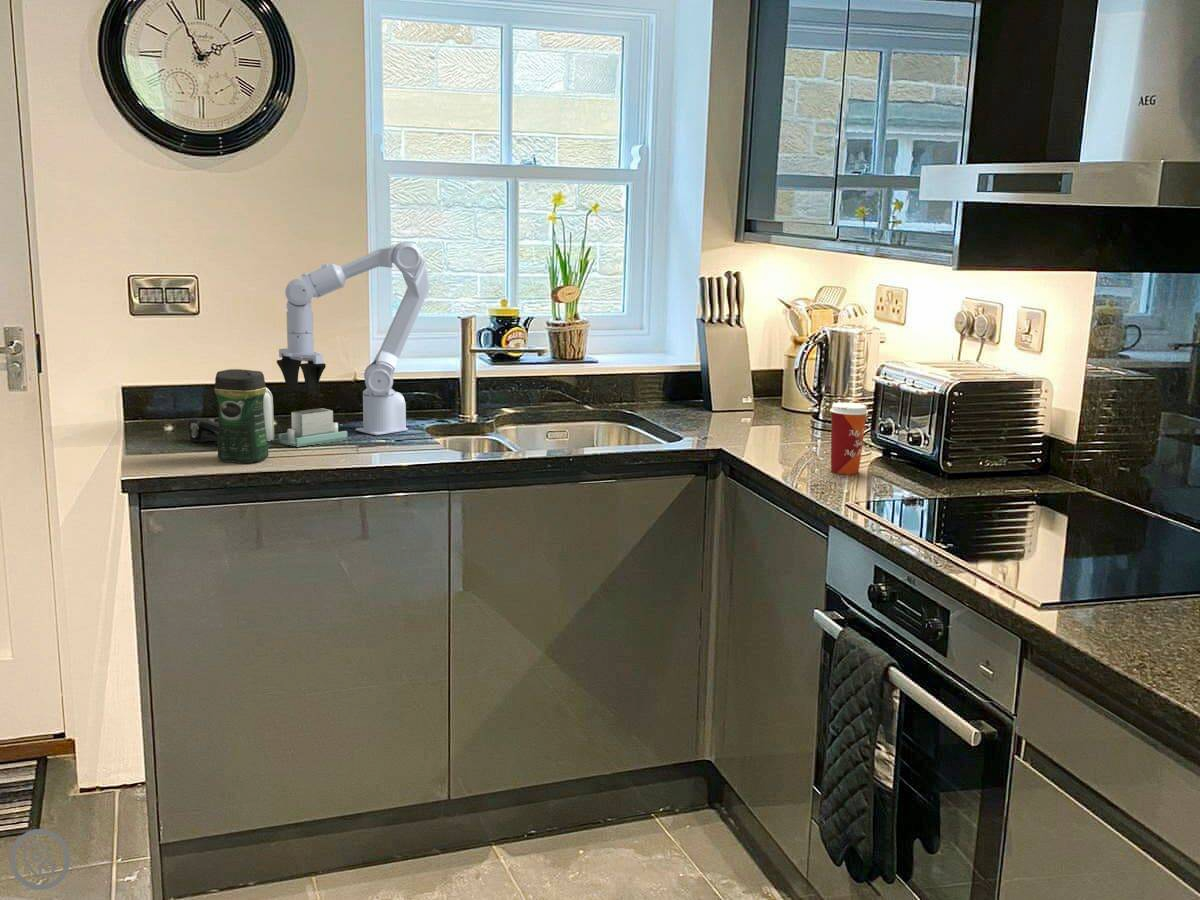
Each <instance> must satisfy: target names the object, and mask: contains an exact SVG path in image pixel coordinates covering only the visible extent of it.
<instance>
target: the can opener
mask: <svg viewBox="0 0 1200 900" xmlns="http://www.w3.org/2000/svg"><path fill="white" fill-rule="evenodd" d="M188 431H189V434H190V435H189V438H190V440H191V441H192V442H195V443H197V444H198V443H199V444H205V443H210V442H209V441H215V442H214V443H218V431H219V421H218V422H217V421H215V419H213V418H209V419H206V418H202V417H201V418H200V417H193V418H190V420H189V421H188ZM204 442H205V443H204Z"/></svg>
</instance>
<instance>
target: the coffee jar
mask: <svg viewBox="0 0 1200 900" xmlns="http://www.w3.org/2000/svg"><path fill="white" fill-rule="evenodd" d="M265 381H266V380H265V375H264V373H263V372H262V371H261V370H250V369H239V368H238V369H237V368H233V369H232V368H231V369H223V370H220V371H217V373H216V374H215V381H214V393H215V396H216V399H217V404H218V423H219V431H218V442H217V457H218V459H219V460H220V461H221V462H222V461H223V462H227V461H229V462H228V463H236V462H240V464H244V463H245V464H247V463H253V462H258V461H260V462H263V461H264V460H266V459H267V458H268V457H269V444H268V442H267V436H266V429H265V420H264V410H263V399H264V395H265V392H266V388H267V387H266V386H267V385H266V382H265ZM262 460H263V461H262Z"/></svg>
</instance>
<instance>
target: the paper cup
mask: <svg viewBox="0 0 1200 900" xmlns="http://www.w3.org/2000/svg"><path fill="white" fill-rule="evenodd" d="M829 412H830V413H831V415H830V417H831V418H830V419H831V420H830V421H831V423H830V442H831V443H830V471H831V472H832V473H833V474H837V475H846V476H849V475H857V474H858V473H859V470H860V466H861V465H860V464H861V458H862V457H861V456H862V450H863V443H864V433H865V427H866V420H867V414H869V412H868V410H867V406H866V405H865V404H863V403H862V404H861V403H855V402H835V403H832V405H831V408H830V409H829Z"/></svg>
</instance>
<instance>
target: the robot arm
mask: <svg viewBox="0 0 1200 900" xmlns="http://www.w3.org/2000/svg"><path fill="white" fill-rule="evenodd" d="M393 264H394V265H395V267H396V268H397V270H399V271H400V273H402V276H403V277H402V278H403V279H404V282H405V284H406V290H405V293H404V295H403V297H402V299H401V302H400V304H399V305H398V308H397V311H396V312H395V315H394V317H393V319H392V321H391V323H390V327H389V328H388V330H387V333H386V335H385V337H384V339H383V342H382V344H381V347H380V349H379V351H378V352H377V354H376V356H375V358H374V360H373V361H372V362H371V363H370V364H369V365H367V366H366V368H365V370H364V373H363V378H364V384H365V387H366V388H365V389H364V390H363V391H362V406H363V407H362V415H363V417H362V418H363V419H362V423H363V424H362V425H363V427H356V428H355V431H357V432H361V433H365V434H369V435H373V436H380V435H381V436H382V435H387V434H392V433H393V434H394V433H399V432H400V433H401V432H406V431H408V430H409V428H408V427H407V414H406V413H407V407H406V401H405V397H404V395H403V394H402V393H401V392H398V391H395V390H394V389H393V385H394V372H395V370H396V368H397V365H398V361H399V358H400V356H401V354H402V351H403V349H404V347H405V345H406V343H407V341H408V338H409V336H410V334H411V331H412V329H413V327H414V325H415V323H416V321H417V318H418V316H419V313H420V311H421V309H422V306H423V304H424V302H425V301H426V298H427V295H428V293H429V291H430V281H429V276H428V270H427V262H426V259H425V257H424V255H423V254H422V252H421V250H420V248H419V247H418V246H417V245H415V244H413V243H412V242H408V241H400V242H399V243H397V244H396V245H395V244H394V245H393V244H392V245H388V246H384V247H381V248H378V249H375V250H373V251H371V252H369V253H366V254H365V255H363V256H360V257H358V258H356V259H353V260H352V261H351V260H350V261H349V262H347V263H345V264H343V265H341V266H340V265H338V264H335V263H329V264H328V263H327V262H326V263H323V264H321V268H318V269H315V270H313V271H311V272H309V273H306V272H303V273H301V277H302V278H299V277H297V278H293V279H291V280H290V281H289V282H288V284H287V286H286V288H285V297H286V299H287V302H286V309H287V311H286V338H287V339H286V340H287V348H286V347H285V348H279V349H278V358H281V359H276V364H277V365H278V368H279V369H280V371H281V373H282V376H283V379H284V382H285V385H286V389H287V391H297V390H298V387H299V386H298V385H299V372H300V369H301V371H302V375H303V377H304V386H305V392H306V395H308V396H309V395H317V392H318V387H319V383H320V380H321V376H322V374H323V372H324V370H326V369H325V368H326V367H327V365H326V364H327V363H324V355H323V354H320V353H318V352H316V351H315V350H314V346H315V345H314V313H313V311H312V299H313V298H317V299H319V298H321V297H323V296H326V295H327V294H330V293H332V292H335V291H337V290H340V289H342V288H344V286H345V283H346V281H347V279H350V278H353V277H355V276H358V275H361V274H363V273H365V272H368V271H370V270H371V271H372V270H373V269H376V268H379V267H381V268H388V269H389V268H391V269H392V268H393ZM302 362H305V363H302Z"/></svg>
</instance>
